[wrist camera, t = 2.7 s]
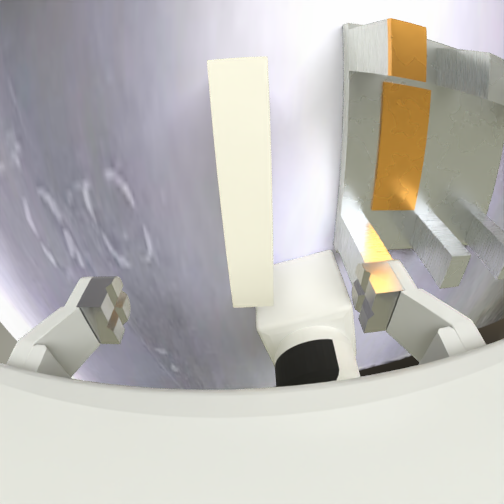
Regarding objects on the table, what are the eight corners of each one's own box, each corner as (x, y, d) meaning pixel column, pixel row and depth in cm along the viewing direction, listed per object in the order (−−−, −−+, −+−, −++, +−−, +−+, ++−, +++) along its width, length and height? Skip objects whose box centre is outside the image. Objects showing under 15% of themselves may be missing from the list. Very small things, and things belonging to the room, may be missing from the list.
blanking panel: (259, 61, 17) (267, 56, 10) (266, 236, 25) (273, 305, 18) (222, 63, 17) (206, 60, 10) (236, 238, 25) (233, 307, 18)
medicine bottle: (273, 318, 31) (282, 425, 21) (253, 267, 27) (256, 388, 17) (340, 302, 30) (370, 406, 20) (331, 247, 26) (371, 362, 16)
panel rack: (502, 69, 15) (563, 88, 8) (470, 238, 25) (509, 284, 19) (342, 24, 15) (390, 9, 9) (333, 244, 25) (357, 307, 19)
